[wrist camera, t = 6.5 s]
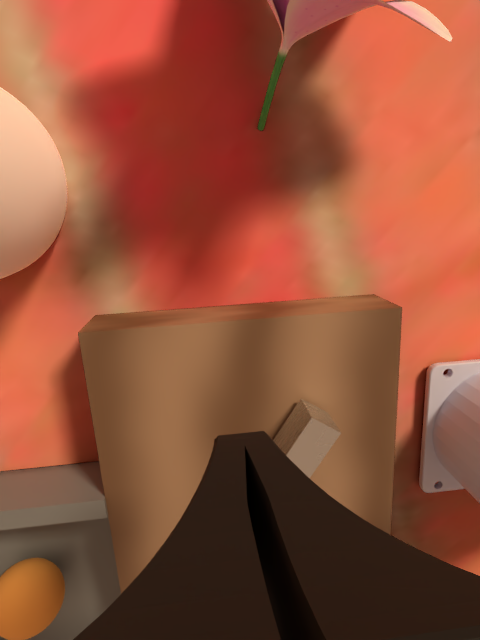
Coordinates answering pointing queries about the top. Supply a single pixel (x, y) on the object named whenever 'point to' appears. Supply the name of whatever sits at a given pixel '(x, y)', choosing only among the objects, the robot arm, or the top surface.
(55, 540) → the tray
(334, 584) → the robot arm
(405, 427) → the top surface
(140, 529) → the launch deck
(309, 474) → the lever
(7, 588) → the ball
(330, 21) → the lily
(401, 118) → the top surface
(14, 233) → the cup
